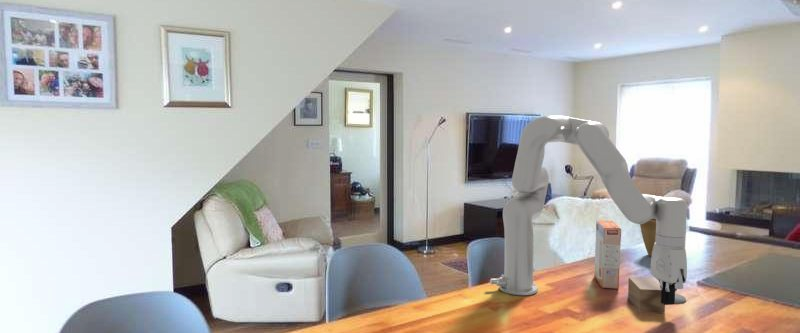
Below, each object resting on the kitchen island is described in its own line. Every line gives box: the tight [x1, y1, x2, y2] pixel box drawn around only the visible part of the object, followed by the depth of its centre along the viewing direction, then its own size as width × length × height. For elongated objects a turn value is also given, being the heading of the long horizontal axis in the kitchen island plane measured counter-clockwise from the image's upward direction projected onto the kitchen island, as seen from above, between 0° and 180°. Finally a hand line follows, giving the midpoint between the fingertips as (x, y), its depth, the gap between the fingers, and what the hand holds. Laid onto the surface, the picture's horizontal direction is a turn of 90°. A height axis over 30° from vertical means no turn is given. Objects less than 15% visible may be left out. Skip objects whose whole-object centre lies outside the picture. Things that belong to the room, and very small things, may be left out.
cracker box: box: [593, 219, 622, 290], centre depth 177 cm, size 14×6×21 cm, turn 168°
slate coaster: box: [675, 292, 687, 304], centre depth 162 cm, size 9×9×1 cm
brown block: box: [627, 276, 666, 314], centre depth 156 cm, size 7×12×7 cm, turn 171°
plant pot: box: [639, 219, 656, 257], centre depth 212 cm, size 15×15×16 cm
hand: (667, 303), depth 146 cm, fingers closed
